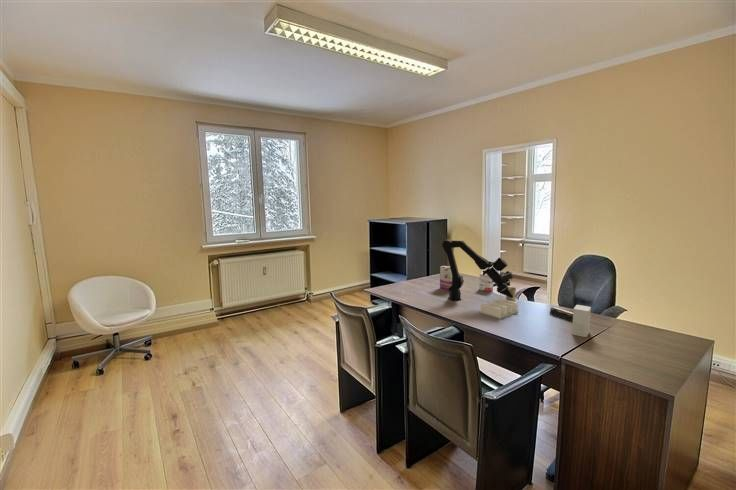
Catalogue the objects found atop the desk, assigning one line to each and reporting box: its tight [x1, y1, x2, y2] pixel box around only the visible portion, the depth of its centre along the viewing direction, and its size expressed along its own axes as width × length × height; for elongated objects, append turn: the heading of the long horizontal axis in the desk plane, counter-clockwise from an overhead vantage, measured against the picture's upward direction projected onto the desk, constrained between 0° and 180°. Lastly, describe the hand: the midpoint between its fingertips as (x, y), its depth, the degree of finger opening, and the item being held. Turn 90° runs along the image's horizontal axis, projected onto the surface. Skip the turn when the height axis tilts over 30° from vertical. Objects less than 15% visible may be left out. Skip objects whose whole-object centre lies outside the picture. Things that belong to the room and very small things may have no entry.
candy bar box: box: [439, 265, 452, 291], centre depth 250 cm, size 11×5×16 cm, turn 43°
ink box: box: [478, 272, 494, 292], centre depth 247 cm, size 8×5×12 cm, turn 39°
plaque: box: [505, 285, 517, 302], centre depth 211 cm, size 5×3×12 cm, turn 63°
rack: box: [479, 297, 519, 320], centre depth 200 cm, size 13×18×6 cm
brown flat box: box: [549, 306, 573, 322], centre depth 194 cm, size 14×25×4 cm, turn 26°
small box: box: [571, 304, 592, 338], centre depth 169 cm, size 8×6×13 cm
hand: (513, 295), depth 211 cm, fingers open, 9 cm apart
